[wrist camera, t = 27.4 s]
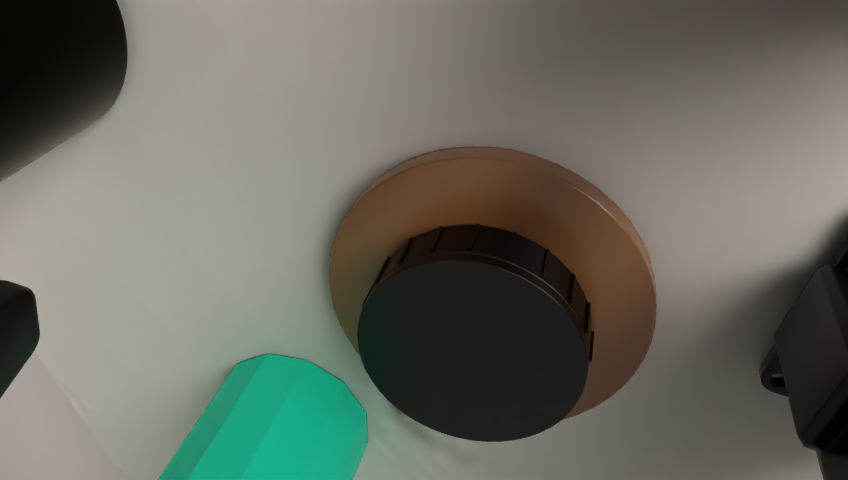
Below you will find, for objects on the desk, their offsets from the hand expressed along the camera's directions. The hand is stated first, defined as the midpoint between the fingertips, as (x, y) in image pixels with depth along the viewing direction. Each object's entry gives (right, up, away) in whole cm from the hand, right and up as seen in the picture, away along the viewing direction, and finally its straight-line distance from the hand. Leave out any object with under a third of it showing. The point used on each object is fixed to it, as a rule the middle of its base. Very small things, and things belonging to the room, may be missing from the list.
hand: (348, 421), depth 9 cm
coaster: (+3, +1, +13) cm, 14 cm away
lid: (+2, -1, +12) cm, 12 cm away
